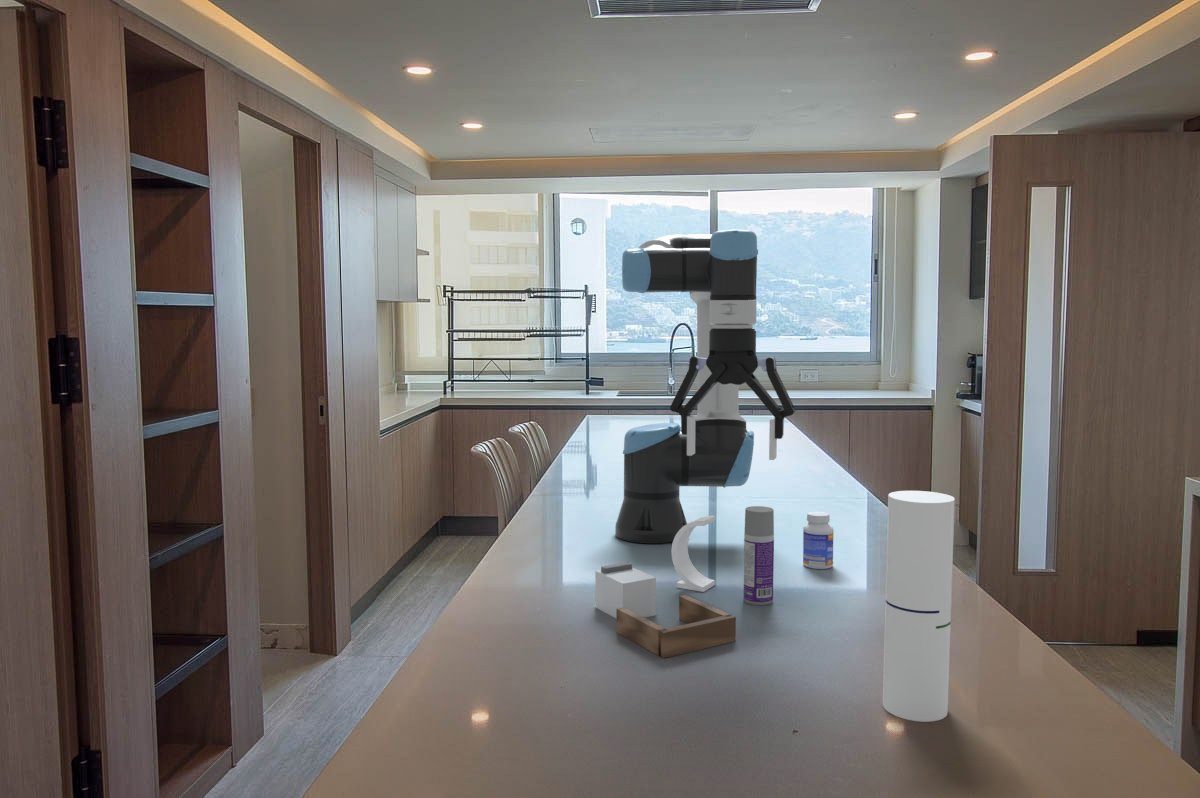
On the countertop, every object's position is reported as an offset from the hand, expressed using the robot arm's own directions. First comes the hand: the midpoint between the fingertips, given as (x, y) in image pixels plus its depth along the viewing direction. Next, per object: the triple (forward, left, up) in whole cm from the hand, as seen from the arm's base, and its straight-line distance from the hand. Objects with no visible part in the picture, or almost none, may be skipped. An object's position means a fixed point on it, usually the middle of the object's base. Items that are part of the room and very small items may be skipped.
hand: (731, 456), depth 147 cm
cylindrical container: (+46, -10, -23) cm, 53 cm away
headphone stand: (-6, -3, -23) cm, 24 cm away
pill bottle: (-4, +24, -23) cm, 33 cm away
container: (+6, +1, -23) cm, 24 cm away
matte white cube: (0, -20, -23) cm, 31 cm away
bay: (+12, -20, -23) cm, 33 cm away
